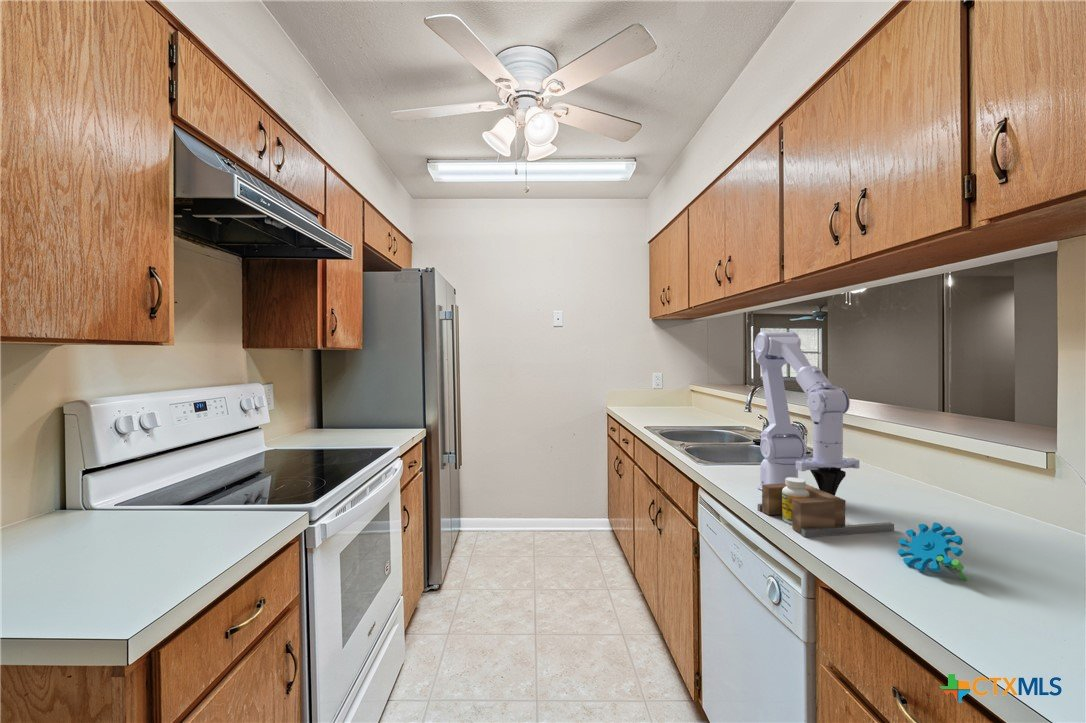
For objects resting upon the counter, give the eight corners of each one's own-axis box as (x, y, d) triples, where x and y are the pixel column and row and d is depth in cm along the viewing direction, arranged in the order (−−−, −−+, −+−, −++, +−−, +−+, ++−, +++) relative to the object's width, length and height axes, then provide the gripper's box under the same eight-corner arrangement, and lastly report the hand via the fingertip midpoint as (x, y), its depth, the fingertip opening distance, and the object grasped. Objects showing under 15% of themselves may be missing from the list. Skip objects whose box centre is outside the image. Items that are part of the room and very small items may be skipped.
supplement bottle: (815, 524, 98) (815, 481, 98) (796, 527, 96) (796, 484, 96) (794, 515, 103) (794, 475, 103) (776, 518, 102) (776, 477, 101)
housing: (762, 511, 106) (762, 484, 106) (801, 508, 107) (801, 482, 107) (800, 533, 93) (800, 502, 93) (845, 530, 94) (845, 500, 94)
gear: (883, 544, 84) (927, 511, 82) (904, 565, 84) (949, 532, 83) (926, 581, 73) (978, 544, 71) (950, 605, 74) (1003, 569, 72)
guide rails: (757, 509, 107) (757, 503, 107) (835, 505, 110) (835, 499, 110) (804, 537, 91) (804, 530, 91) (894, 530, 94) (894, 523, 94)
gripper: (811, 446, 96) (811, 508, 96) (871, 443, 97) (870, 504, 98) (789, 439, 103) (789, 497, 103) (845, 437, 104) (845, 494, 105)
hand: (827, 500), depth 101 cm, fingers closed
